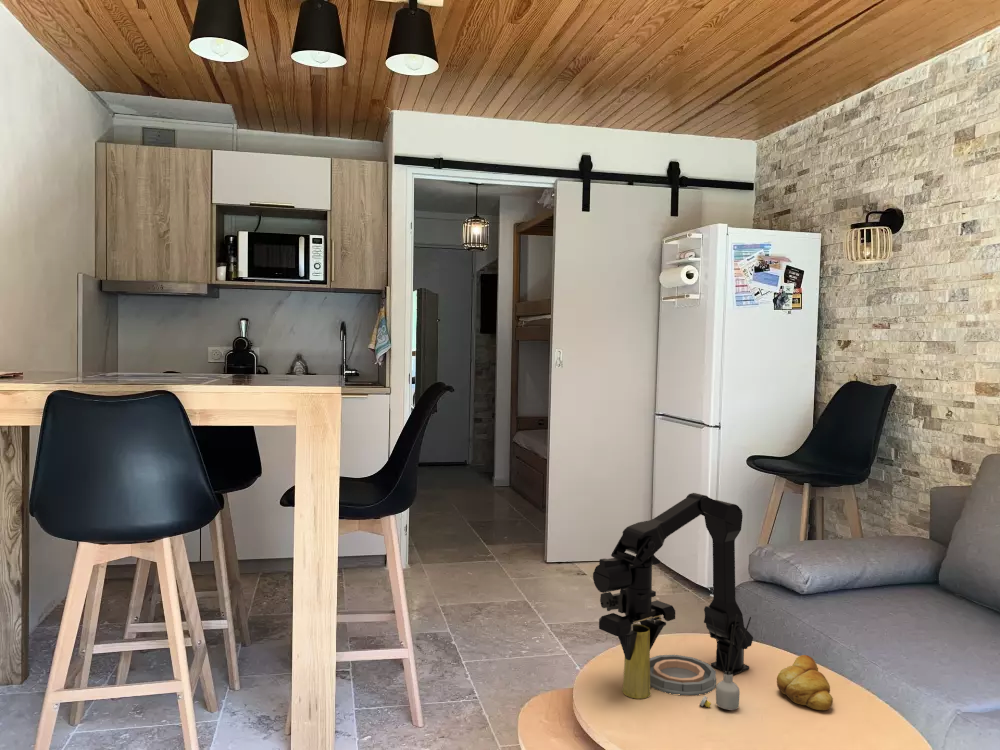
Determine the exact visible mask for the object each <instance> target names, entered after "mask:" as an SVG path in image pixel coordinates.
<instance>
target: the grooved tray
mask: <svg viewBox="0 0 1000 750" xmlns="http://www.w3.org/2000/svg"><path fill="white" fill-rule="evenodd" d="M716 686H717V671H716V670H715V669H714V667H712V666H711V664H709V663H708V662H705V661H703V660H700V659H698V658H696V657H691V656H685V655H681V654H680V655H679V654H659V655H655V656H651V657H650V688H652V689H655V690H656V689H657V691H660V692H662V693H665V692H666V694H669V693H671V694H670V695H673V694H680V695H679V696H681V695H697V696H700V695H699V694H703V695H705V693H706V694H709V693H711V692H712V690H713V689H714V688H715V689H716ZM715 689H714V690H715ZM710 691H711V692H710ZM708 692H709V693H708Z"/></svg>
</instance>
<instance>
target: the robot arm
mask: <svg viewBox="0 0 1000 750" xmlns="http://www.w3.org/2000/svg"><path fill="white" fill-rule="evenodd" d="M699 516H703V517H704V522H705V527H706V530H707V531H708V533H709V535H710V537H711V539H712V583H713V584H712V585H713V586H712V587H713V588H712V589H713V591H712V592H713V593H712V594H713V598H712V600H711V602H710V604H709V605H707V606H704V609H703V611H704V620H703V623H704V624H705V625H706V630H707V631H708V633H709V637H710V638H711V639H713V640H716V637H715V633H714V628H713V624H712V620H711V615H712V619H713V623H714V627H715V631H716V635H717V640H718V644H719V648H720V652H721V656H722V661H723V665H724V669H725V671H727V667H728V657H729V648H730V639H731V629H732V624H733V632H734V626H735V619H736V614H737V622H736V628H735V634H734V641H733V647H732V653H731V660H730V666H729V671H730V672H731V671H732V668H733V665H734V662H735V660H736V657H737V654H738V651H739V648H740V645H741V642H742V639H743V636H744V633H745V630H746V627H745V624H744V623H745V622H744V615H743V612H742V611H741V608H740V606H739V604H738V603H737V600H736V556H735V554H736V548H735V547H736V545H735V544H736V543H735V541H736V539H737V537H738V536H739V534H740V532H741V531H742V524H743V510H742V508H740V507H739V505H737V504H736V503H731V502H727V501H723V500H719V499H718V500H717V499H713V498H711V497H709V496H708V495H706V494H705V495H704V494H701V493H697V492H692V493H689V494H688V495H686V496H685V498H684V499H682V500H680V501H679V502H677V503H676V504H673V506H671V507H669V508H668V509H666V510H665V511H663V512H662V513H661V514H659V515H657V516H656V517H654V518H652V519H650V520H642V521H639V522H635V523H633V524H631V525H629V526H627V527H626V528H624V529H623V531H622V535H621V537H620V539H619V540H618V542H617V544H616V545H615V547H614V549H613V551H612V553H611V554H610V556H611V557H612V558H611V557H610V558H600V559H599V562H598V565H597V566H595V568H594V571H593V572H592V581H593V583H594V586H595V588H596V589H597V591H598V592H599V593H600V598H599V603H600V606H601V608H602V609H606V612H610V611H613V610H614V611H615V610H617V611H618V613H620V614H624V616H623V615H620V614H617V613H614V612H612V613H608V614H604V615H602V616H600V617H599V619H598V630H600V631H603V632H605V633H608V634H610V635H613V636H615V637H618V641H619V642H620V646H621V648H622V650H623V654H624V659H625V658H626V659H627V660H631V657H632V654H633V650H634V645H635V641H636V637H637V632H635V631H633V624H638V623H640V625H644V626H647V627H648V628H649V629H650V651H651V649H652V648H653V646H654V644H655V642H656V640H657V639H658V637H659V635H660V633H661V632H662V630H663V629H664V627H665V626H666V625H667V622H670V621H672V620H676V610H675V608H674V606H673V605H672V604H669V603H665V602H664V601H661V600H660V601H659V600H654V601H652V598H654V597H657V591H656V590H654V589H653V566H655V565H660V564H661V560H660V559H658V557H656V556H655V554H656V553H657V552H658V551H659V550H660V549H661V548H662V547H663V545H664V543H665V539H667V538H669V536H670V535H672V534H674V533H675V532H677V531H678V530H680V529H681V528H683V527H684V526H685V525H687V524H689V523H691V522H692V521H693V520H695V519H697V518H698V517H699ZM627 552H629V553H627ZM630 553H631V554H630ZM633 554H634V555H633ZM614 591H619V592H618V593H613V594H612V592H614ZM662 616H663V617H662ZM662 618H663V620H665V621H663V620H662ZM732 638H733V633H732ZM753 640H754V637H753V635H752V634H751V633H750V632H749V630H747V631H746V634H745V637H744V640H743V643H742V646H741V649H740V652H739V655H738V658H737V661H736V664H735V667H734V670H733V676H735V675H737V674H740V673H742V672H744V671H747V670H749V669H750V665H747V664H746V663H745V664H744V662H745V660H744V659H745V650H747V649H748V648H749V647H752V645H753ZM731 645H732V642H731ZM715 653H716V654H715V662H712V663H711V664H710V666H711V667H712V668H715V669H718V670H720V671H722V672H724V670H723V666H722V662H721V658H720V654H719V649H718V645H717V644H716V650H715Z"/></svg>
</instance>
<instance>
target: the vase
mask: <svg viewBox="0 0 1000 750" xmlns="http://www.w3.org/2000/svg"><path fill="white" fill-rule="evenodd" d="M633 631H635V632H637V637H636V641H635V645H634V650H633V654H632V657H631V660H627V659H626V658H625V657H624V660H623V661H624V664H623V679H622V680H623V682H622V691H621V692H622V694H624V695H625V696H627V697H628V698H629V699H630V698H632V699H635V700H643V699H644V700H645V699H647V698H649V697H650V696H651V693H652V692H651V686H650V658H651V657H650V656H651V655H650V654H651V653H650V652H651V650H650V629H649V628H648V627H647V626H644V625H641V623H640V624H639V623H633Z"/></svg>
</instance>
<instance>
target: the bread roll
mask: <svg viewBox="0 0 1000 750" xmlns="http://www.w3.org/2000/svg"><path fill="white" fill-rule="evenodd" d="M776 685H777V689H778V690H779V691H780V692H781V693H782V694H784V695H786V697H788V699H789V700H791V701H792V702H793V703H795V704H798V705H801V706H806V707H808V708H810V709H812V710H817V711H827V710H830V709H831V708H832V706H833V702H834V698H833V696H832V694H831V685H830V683H829V681H828V679H827V678H826V676H825V675H824V674H823V673H822V672H821V671H819V667H818V665H817V662H816V661H815V660H814V658H813V657H811V656H809V655H807V654H802V655H799V656H797V657H796V658H795V660H794V662H793V663H792V664H791V665H789V666H787V667H784V668H783V669H781V670H780V671H779V673H778V675H777V677H776Z"/></svg>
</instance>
